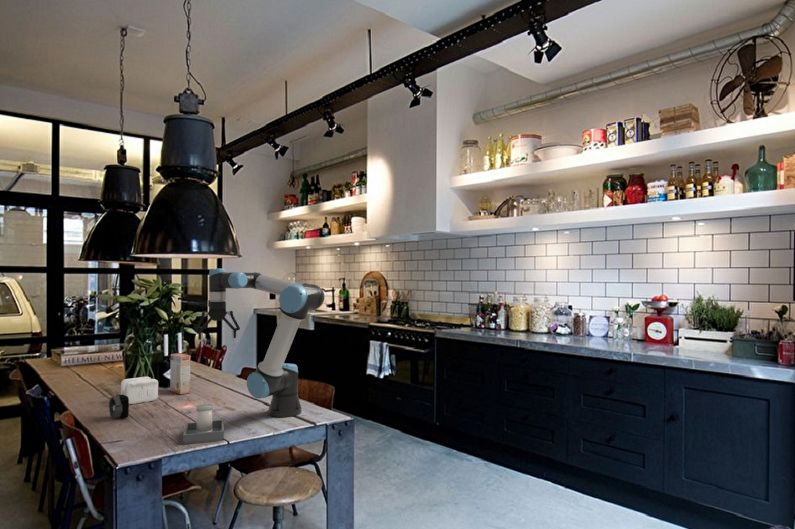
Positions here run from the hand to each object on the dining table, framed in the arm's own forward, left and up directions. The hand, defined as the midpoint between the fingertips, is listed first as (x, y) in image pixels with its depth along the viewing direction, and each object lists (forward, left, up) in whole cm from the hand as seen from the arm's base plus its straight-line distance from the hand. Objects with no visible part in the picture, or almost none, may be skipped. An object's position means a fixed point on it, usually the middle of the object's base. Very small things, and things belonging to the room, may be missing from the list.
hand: (217, 346), depth 232 cm
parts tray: (+4, +35, -31) cm, 47 cm away
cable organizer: (+38, -36, -32) cm, 61 cm away
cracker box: (+20, -52, -32) cm, 64 cm away
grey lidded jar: (+4, +35, -30) cm, 46 cm away
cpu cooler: (+42, -6, -32) cm, 53 cm away
